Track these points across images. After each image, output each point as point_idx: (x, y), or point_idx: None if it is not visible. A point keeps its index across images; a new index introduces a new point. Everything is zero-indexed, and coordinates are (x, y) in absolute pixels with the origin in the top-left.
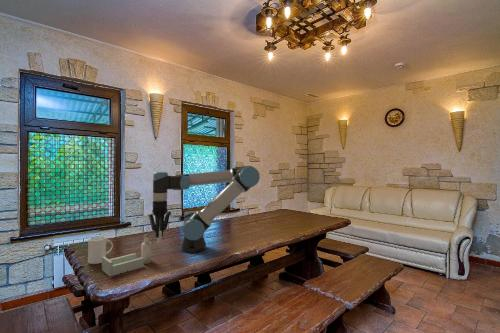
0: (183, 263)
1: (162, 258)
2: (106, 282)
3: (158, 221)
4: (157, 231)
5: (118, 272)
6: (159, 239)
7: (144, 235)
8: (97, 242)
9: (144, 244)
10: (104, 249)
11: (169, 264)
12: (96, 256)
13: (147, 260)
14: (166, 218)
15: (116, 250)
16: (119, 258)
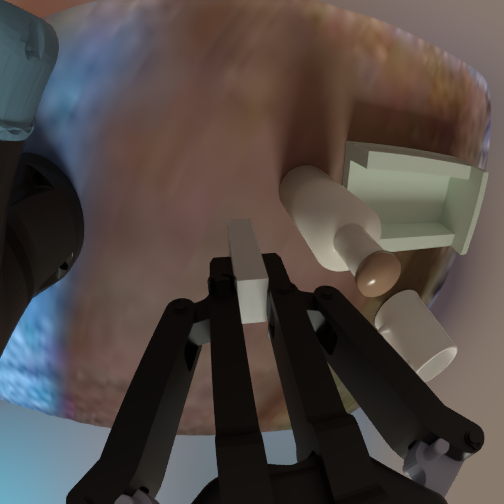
0: (164, 36)
1: (215, 181)
2: (470, 124)
3: (319, 389)
4: (292, 284)
5: (437, 154)
6: (252, 235)
7: (399, 271)
8: (449, 341)
9: (374, 221)
10: (411, 327)
11: (233, 70)
12: (424, 306)
13: (319, 170)
14: (156, 433)
15: None
16: (418, 235)
